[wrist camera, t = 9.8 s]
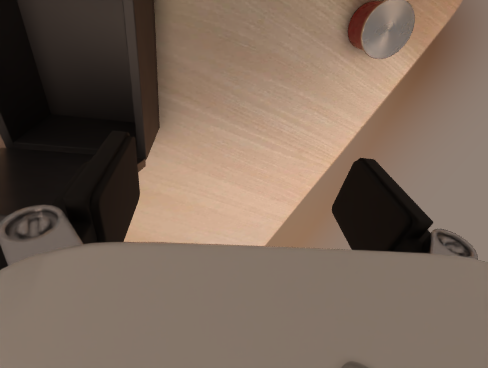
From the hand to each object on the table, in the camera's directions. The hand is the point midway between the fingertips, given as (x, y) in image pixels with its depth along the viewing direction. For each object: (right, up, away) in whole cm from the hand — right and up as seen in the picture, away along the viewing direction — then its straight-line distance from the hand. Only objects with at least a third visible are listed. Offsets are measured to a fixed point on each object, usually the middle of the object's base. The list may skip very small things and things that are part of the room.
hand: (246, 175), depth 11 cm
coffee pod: (+13, +17, +17) cm, 27 cm away
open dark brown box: (-16, +13, +16) cm, 26 cm away
